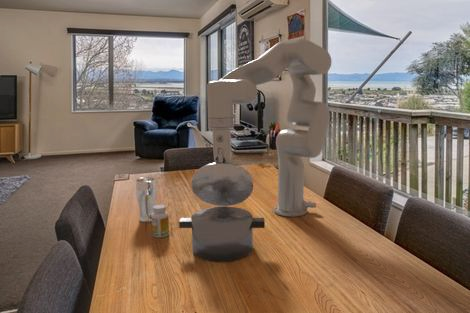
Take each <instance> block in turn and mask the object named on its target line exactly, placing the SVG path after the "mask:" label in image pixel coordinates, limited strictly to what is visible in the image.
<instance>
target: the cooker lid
mask: <svg viewBox="0 0 470 313" xmlns="http://www.w3.org/2000/svg"><path fill="white" fill-rule="evenodd" d="M191 188H192V191H193V193H194V195H195V196H196V197H197V198H199V199H200V200H201V201H203V202H205V203H207V204H209V205H213V206H216V207H221V206H227V207H231V206H235V205H238V204H240V203H242V202H245V201H246V200H247V199H248V198H249V197H250V196H251V195H252V193H253V190H254V181H253V178H252V176H251V174H250V172H249V171H248V170H246V169H245V168H244V167H243V166H239V165H238V164H234V163H233V162H232V163H231V162H227V163H226V162H212V163H208V164H205V165H203V166H201V167H200V168H198V169H197V170H196V171H195V173H194V174H193V175H192V179H191Z"/></svg>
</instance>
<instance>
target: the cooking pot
mask: <svg viewBox="0 0 470 313" xmlns="http://www.w3.org/2000/svg"><path fill="white" fill-rule="evenodd" d="M178 222H179V223H178V225H179V229H191V244H192V246H191V247H192V253H193V254H194V256H196V257H197V258H198V259H201V260H204V261H207V262H213V263H229V262H234V261H239V260H242V259H244V258H246V257H248V256H249V255H250V254H251V253H252V251H253V248H254V247H253V245H254V244H253V237H254V236H253V229H265V225H266V224H265V222H266V221H265V218H264V217H253V214H252V213H251V212H250V211H249V210H246V209H245V208H240V207H237V206H212V207H206V208H203V209H201V210H198V211H196V212H194V213H193V214H192V215H191V217H180V219H179V221H178Z"/></svg>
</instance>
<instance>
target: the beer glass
mask: <svg viewBox="0 0 470 313" xmlns="http://www.w3.org/2000/svg"><path fill="white" fill-rule="evenodd" d="M156 188H157V187H156V178H154V177H150V176H149V177H147V176H146V177H140V178H137V179H135V189H136V190H135V194H136V199H137V203H138V206H139V219H138V220H139V222H141V223H150V222H151V223H152V218H151V215H152V213H153V212H154V211H153V207H154V206H155V205H156V199H157V189H156Z"/></svg>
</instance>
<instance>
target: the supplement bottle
mask: <svg viewBox="0 0 470 313" xmlns="http://www.w3.org/2000/svg"><path fill="white" fill-rule="evenodd" d="M166 207H167V206H166V205H165V204H157V205H156V204H155V206H154V207H153V211H154V212H153V213H152V215H151V218H152V221H151V230H152V232H151V233H152V237H154V238H159V239H161V238H164V237H165V238H166V237H168V236H169V234H170V225H169V223H170V222H169V212H167V211H166V210H167V208H166Z"/></svg>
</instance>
